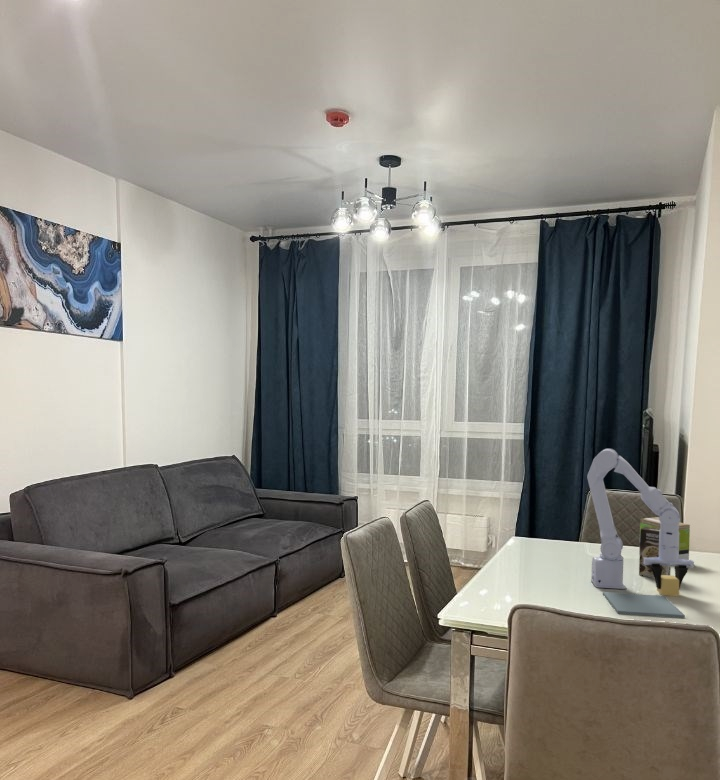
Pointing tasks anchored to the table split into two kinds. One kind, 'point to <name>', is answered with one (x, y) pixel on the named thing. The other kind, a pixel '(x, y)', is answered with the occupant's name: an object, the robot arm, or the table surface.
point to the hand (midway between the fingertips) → (667, 588)
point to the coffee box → (650, 551)
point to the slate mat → (642, 605)
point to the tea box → (683, 535)
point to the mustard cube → (669, 585)
